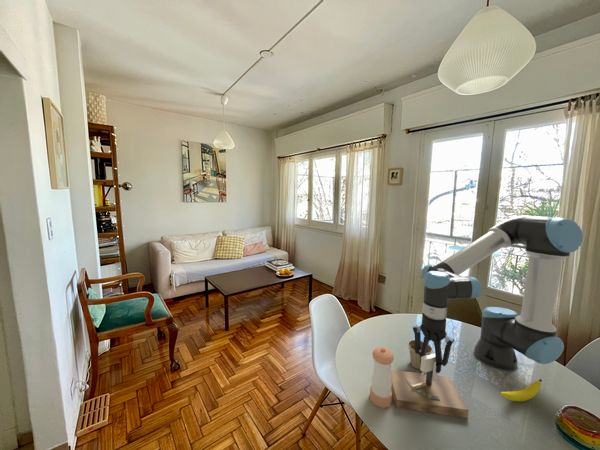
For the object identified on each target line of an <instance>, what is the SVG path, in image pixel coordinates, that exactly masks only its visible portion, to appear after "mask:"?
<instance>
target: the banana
mask: <svg viewBox="0 0 600 450" xmlns="http://www.w3.org/2000/svg"><path fill="white" fill-rule="evenodd" d="M541 382H543V380H542V379H541V378H540V379H538V380H537V381H534V382H532V383H531V384H529V386H527V387H526V388H523V389H519V390H512V391H500V394H501V396H502V397H503V398H504V399H506V400H509V401H512V402H520V403H521V402H526V401H529V400H531V399H533V398H534V397H535V396H536V395H537V394H538V393H539V392H540V389H541V386H542V383H541Z"/></svg>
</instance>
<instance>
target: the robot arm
mask: <svg viewBox="0 0 600 450" xmlns="http://www.w3.org/2000/svg"><path fill="white" fill-rule="evenodd" d="M583 235H584V234H583V230H582V228H581V226H580V225H578V223H577V222H576V221H574V220H573V219H570V218H565V217H558V216H552V217H551V216H538V215H537V216H536V215H528V214H525V215H517V216H514V217H511V218H508V219H505V220H502V221H501V222H499V223H497V224H495V225H494V226H491V227H490V228H489V229H487V233H485V234H483V235H482V236H480V237H479V238H478V239H475V240H473V242H471V243H469V244H467V245H466V246H464V247H463V248H461V249H460V250H458V251H457V252H455V253H453V254H452V255H450V256H449V257H447V258H446V259H444V260H443V261H441V262H439V263H437V264H436V265H435V264H427V265H425V266H424V267H423V268H422V270H421V276H422V277H421V278H422V279H423V280H424V282H423V286H424V287H423V300H422V301H423V302H422V315H421V324H420V325H417V324H416V325H414V326H413V327H412V331H413V333H414V340H415V353H416V354H419V355H420V365H421V357H422V356H425V355H426V351H427V348H428V344H429V343H430V341H431V342H433V346H434V353H435V356H436V361H435V363H434V366H433V378H432V381H434V382H435V380H436V379H437V376H439V375H438V374H440V373H441V371H442V366H443V367H446V366H447V364H448V363H449V358H450V355H451V349H452V345H453V344H454V342H455V338H453V337H452V338H451V337H450V336H449V335H448V334H447V332H446V330H447V329H446V326H447V316H448V314H447V313H448V306H449V305H448V304H449V300H465V299H466V300H471V299H477V298H479V297H480V296H481V295H482V293H483V287H482V283H481V282H480V281H479V279H477V278H476V277H474V276H468V275H465V276H461V274H463V273H465V272H466V271H468V270H469V269H470V268H472V267H474V266H476V265H477V264H479V263H480V262H482V261H483V260H485V259H486V258H488V257H489V256H491V255H493V254H494V253H496V252H497V251H499V250H501V249H502V248H503V249H506V248H509V247H510V246H513V245H524V246H525V250H524V251H525V252H526V253H527V254H528V255H529V259H528V264H527V265H528V266H527V273H526V278H525V284H524V292H523V299H522V304H521V311H520V315H518V312H516V311H514V310H511V309H509V308H506V307H505V308H504V307H500V306H499V307H498V306H487V307H485V308H483V312H482V315H481V323H480V324H481V325H480V326H481V327H480V338H479V339H478V341H477V342H476V344H475V345H474V348H473V349H474V350H473V355H474V356H475V357H476V358H477V359H478V360H479V361H480V362H482V363H484V364H486V365H487V366H490V367H493V368H496V369H499V370H503V371H513V370H515V369H517V368H518V358H517V355H516V351H517V352H519V353H520V354H522V355H523V356H525V357H526V358H527V359H530V360H532V361H534V362H535V363H538V364H541V365H548V364H552V363H553V362H555V361H556V360H557V359H559V357H560V356H562V353H563V351H564V349H565V343H564V342H563V340H562V339H561V338H559V337H558V336H557V327H556V326H555V325H554V324H553V323H552V322H553V319H554V311H555V305H556V300H557V299H556V298H557V294H558V287H559V281H560V275H561V270H562V264H563V261H564V260H566V259H567V258H569V257H570V253H571V254H572V253H575V252H576V251H578V250H579V249H580V247H581V246H582V244H583V238H584V236H583ZM421 332H422V334H423V336H424V337H423V340H421V339H422V338H421ZM442 340H445V343H444V344H445V346H444V351H443V353H442V345H441V344H442ZM421 341H423V345H422V349H421ZM429 345H430V344H429ZM442 354H443V355H442ZM421 374H422V376H424V375H425V374H426V372H425V373H424V372H423V371H422V370H421Z"/></svg>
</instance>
